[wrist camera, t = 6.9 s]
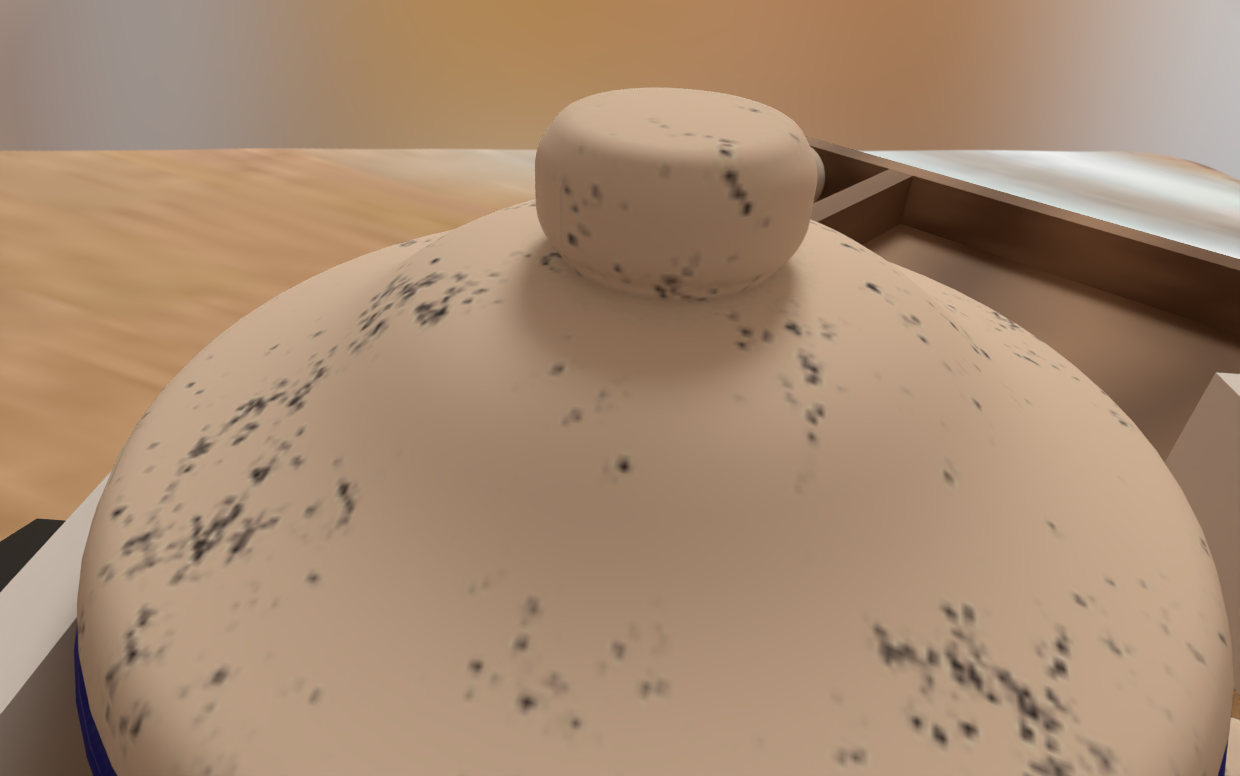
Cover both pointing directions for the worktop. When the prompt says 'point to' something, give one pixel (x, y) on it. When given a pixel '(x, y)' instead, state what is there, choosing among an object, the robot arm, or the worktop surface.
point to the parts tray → (1054, 279)
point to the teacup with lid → (645, 508)
